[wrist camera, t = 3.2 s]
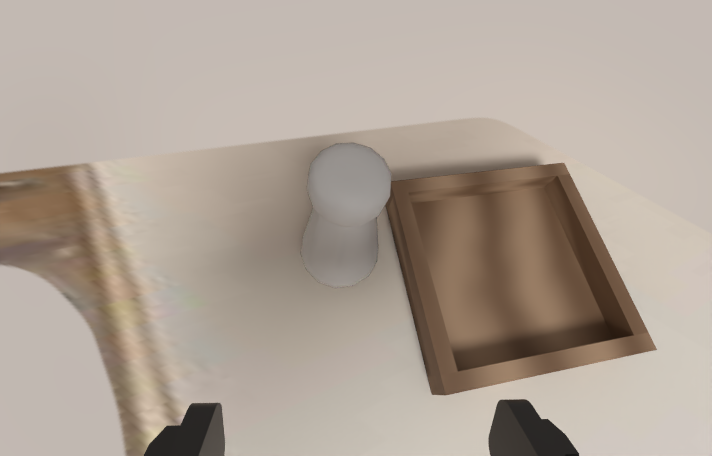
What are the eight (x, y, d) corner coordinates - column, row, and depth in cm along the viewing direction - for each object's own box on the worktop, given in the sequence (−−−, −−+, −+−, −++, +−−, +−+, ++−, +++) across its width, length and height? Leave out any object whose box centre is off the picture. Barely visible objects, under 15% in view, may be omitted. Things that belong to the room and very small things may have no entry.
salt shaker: (381, 240, 30) (423, 142, 18) (362, 304, 27) (396, 241, 16) (315, 219, 30) (314, 109, 18) (290, 281, 28) (271, 201, 16)
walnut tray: (544, 180, 34) (564, 162, 31) (623, 353, 28) (656, 349, 25) (384, 199, 31) (390, 181, 29) (432, 394, 25) (445, 395, 22)
